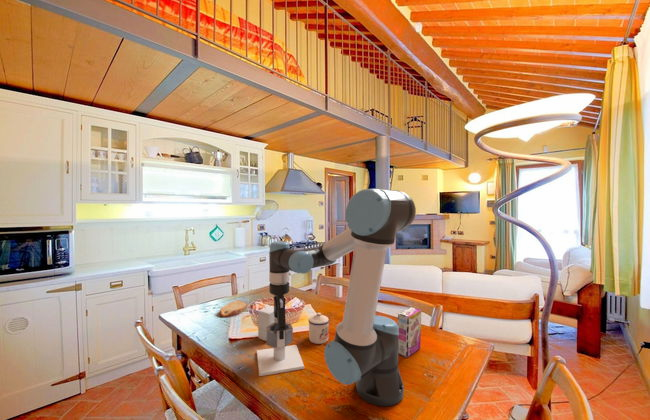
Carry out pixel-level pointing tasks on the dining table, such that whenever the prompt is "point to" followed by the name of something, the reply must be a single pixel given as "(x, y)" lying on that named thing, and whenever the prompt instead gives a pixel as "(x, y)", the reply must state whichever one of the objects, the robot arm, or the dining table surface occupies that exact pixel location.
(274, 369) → the post
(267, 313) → the supplement box
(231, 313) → the slice of bread
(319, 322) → the teacup with lid
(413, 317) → the candy bar box
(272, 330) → the ring
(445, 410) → the dining table surface
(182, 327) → the dining table surface
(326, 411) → the dining table surface
